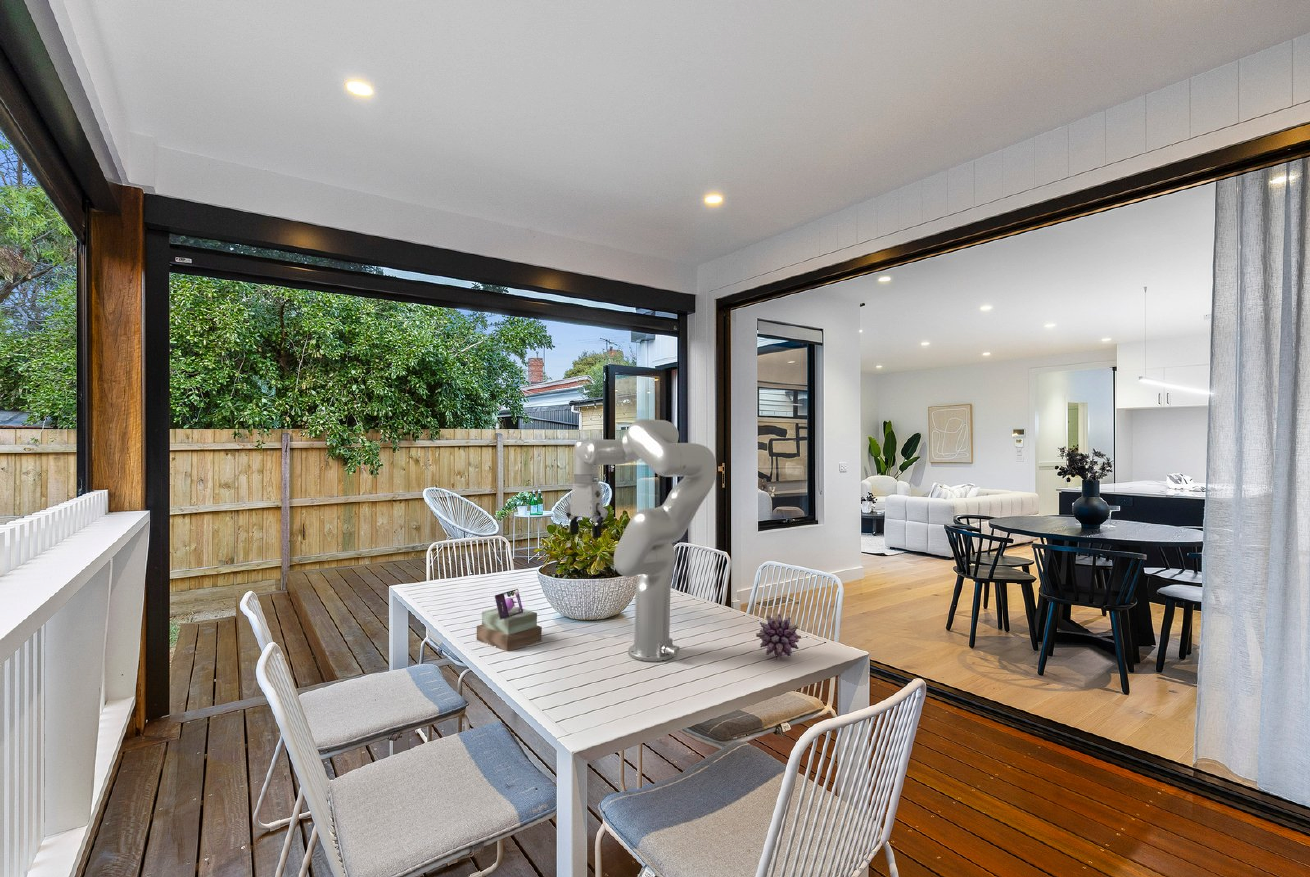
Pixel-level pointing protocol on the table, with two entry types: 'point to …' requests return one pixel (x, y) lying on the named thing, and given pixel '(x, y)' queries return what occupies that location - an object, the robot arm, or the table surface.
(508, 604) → the purple product box
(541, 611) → the table surface
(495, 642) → the tower stack
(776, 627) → the purple spiky ball
